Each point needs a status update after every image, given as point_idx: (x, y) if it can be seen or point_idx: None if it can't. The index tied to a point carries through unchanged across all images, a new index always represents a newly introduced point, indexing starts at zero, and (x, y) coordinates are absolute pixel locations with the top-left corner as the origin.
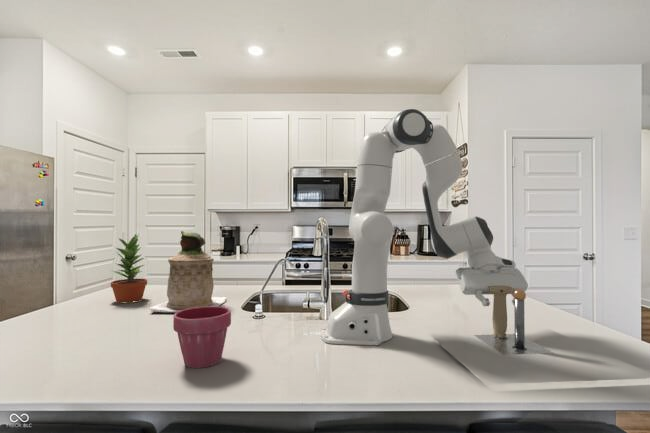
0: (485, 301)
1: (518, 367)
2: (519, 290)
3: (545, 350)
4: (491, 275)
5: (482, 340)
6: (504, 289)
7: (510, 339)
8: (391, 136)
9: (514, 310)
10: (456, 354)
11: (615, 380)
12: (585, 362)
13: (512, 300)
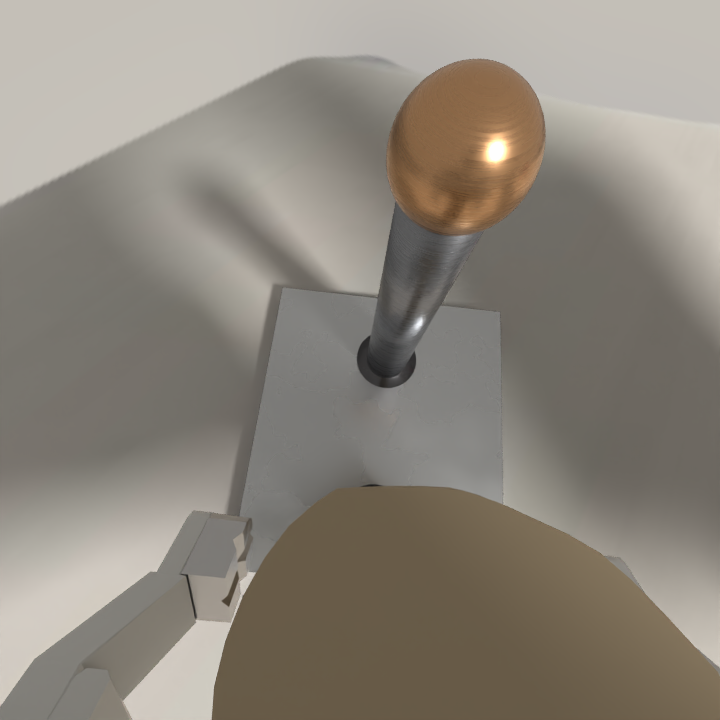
0: (626, 573)
1: (481, 249)
2: (505, 65)
3: (296, 314)
4: None
5: (501, 493)
6: (475, 495)
7: (343, 480)
8: None
9: (452, 284)
10: (658, 398)
11: (262, 130)
12: (215, 239)
13: (231, 601)
